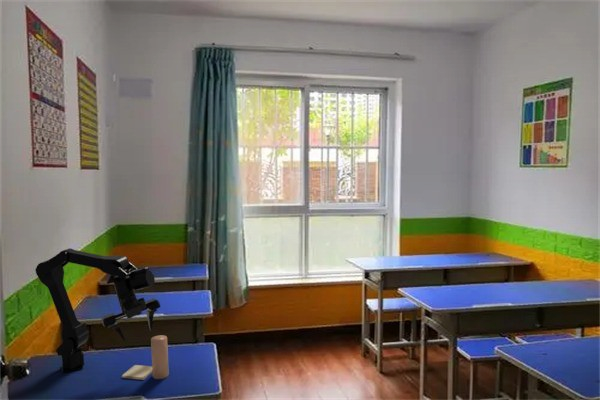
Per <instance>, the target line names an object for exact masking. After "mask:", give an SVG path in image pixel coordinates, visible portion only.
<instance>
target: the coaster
mask: <svg viewBox="0 0 600 400" xmlns="http://www.w3.org/2000/svg"><path fill="white" fill-rule="evenodd" d="M151 374H153V372H152V365H151V366H150V365H141V364H140V365H139V364H134V365H133V366H132V367H130V368H129V369H128V370H127V371H126V372H124V373H123V374H122V376H121V378H123V379H129V380H130V379H132V380H142V381H145V379H146V378H147V377H149V376H150V375H151Z"/></svg>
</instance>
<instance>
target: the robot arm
mask: <svg viewBox="0 0 600 400" xmlns="http://www.w3.org/2000/svg"><path fill="white" fill-rule="evenodd" d="M69 263H71V264H76V265H80V266H84V267H90V268H94V269H97V270H100V271H101V272H102V273H103V274H106V275H109V278H108V280H107V282H106V284H107V285H108V284H113V286H114V287H113V288H114V290H115V294H116V297H117V300H118V303H119V307H120V311H121V312H120V313H117V314H114V313H113V312H111V313H108V314H106V315H103V316H102V317H101V321H102V326H103V327H104V328H108V329H113V330H114V331H116V333H117V334H118V335H119V337H120V338H121V340H122V341H123V342H126V338H125V336H124V333H123V331H122V330H121V327H120V325H119V323H118V322H117V321H118V320H121V319H124V318H127V319H132V318H133V317H134V318H135V317H136V316H140V315H142V314H143V313H142V312H144V311H145V312H146V318H147V323H148V327H149V331H150V332H153V324H154V323H153V322H154V316H155V313H156V312H157V311H158V309H159V308H161V304H160V300H158V299H157V298H151V299H148V300H146V301H145V298H144V297H140V298H138V299H137V295H136V292H135V291H138V290H139V291H140V290H142V289H147V288H152V287H154V285H155V283H156V282H155V281H156V280H155V275H154V274H153V272H152V270H150V269H149V267H148V266H146V267H143V268H140V269H139V268H137V267H136V266H135V265H134V264H133V263H131V262H130V261H129V260H128V258H127V256H125V255H114V254H113V255H101V254H96V253H91V252H86V251H82V250H77V249H73V248H70V247H69V248H67V249H64V250H61V251H60V252H59V253H57V254H55V255H54V256H53V257H50V259H47V260H44V261H43V262H42V261H41V262H40V263H38V264H37V265H36V267H35V270H34V271H35V274H36V276H37V278H38V280H39V281H40V283H42V284H43V285H45V286H46V288H47V289H48V291H49V294H50V297H51V300H52V302H53V304H54V307H55V311H56V312H57V315H58V317H59V320H60V324H61V335H60V336H61V342H62V343H61V344H60V345H59V346H58V347H57V348H56V349H55V351H56V354H57V356H61V370H62V371H61V372H62V373H63V374H65V373H69V372H73V371H80V370H83V369H84V365H85V357H84V356H85V355H84V351H82V348H83V347H85V344H86V342H87V341H88V340H89V337H90V335H89V333H90V330H89V329H88V326H87V323H86V322H85V321H84V322H82V323H81V321H80V320H78V318H77V316H76V313H75V311H74V308H73V305H72V302H71V300H70V298H69V295H68V292H67V289H66V287H65V283H64V275H65V270H64V267H65V266H66V265H68V264H69Z"/></svg>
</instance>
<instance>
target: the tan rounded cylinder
mask: <svg viewBox="0 0 600 400" xmlns="http://www.w3.org/2000/svg"><path fill="white" fill-rule="evenodd" d="M150 343H151V344H150V348H151V366H152V378H153V379H155V380H162V379H165V378H168V376H170V375H169V372H170V371H169V369H170V368H169V349H168V337H167V336H166V335H154V336H152V337H151V338H150Z"/></svg>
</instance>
